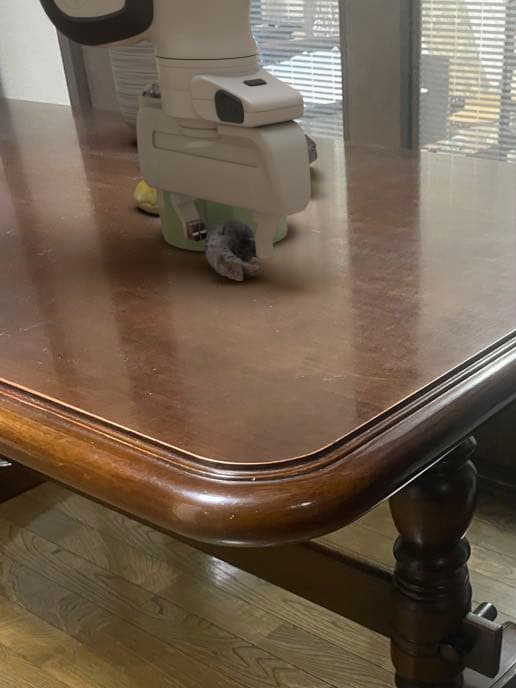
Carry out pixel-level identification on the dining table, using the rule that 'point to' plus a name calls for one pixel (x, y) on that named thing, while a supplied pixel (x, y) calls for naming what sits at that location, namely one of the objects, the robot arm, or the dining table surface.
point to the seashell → (231, 249)
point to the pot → (210, 215)
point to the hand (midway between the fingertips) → (228, 248)
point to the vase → (132, 77)
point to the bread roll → (146, 198)
